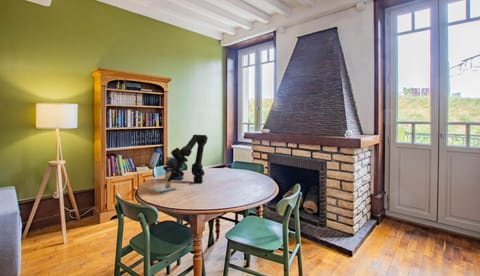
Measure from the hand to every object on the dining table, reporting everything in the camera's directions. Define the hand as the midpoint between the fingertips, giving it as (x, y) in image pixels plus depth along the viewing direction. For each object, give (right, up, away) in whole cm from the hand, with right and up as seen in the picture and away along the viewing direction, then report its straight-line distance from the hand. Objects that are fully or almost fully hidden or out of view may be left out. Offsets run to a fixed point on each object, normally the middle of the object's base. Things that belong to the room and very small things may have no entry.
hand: (166, 180), depth 184 cm
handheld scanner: (-3, -5, +40) cm, 40 cm away
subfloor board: (-3, -8, +6) cm, 11 cm away
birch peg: (+1, -5, +2) cm, 5 cm away
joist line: (+1, -7, +2) cm, 8 cm away
